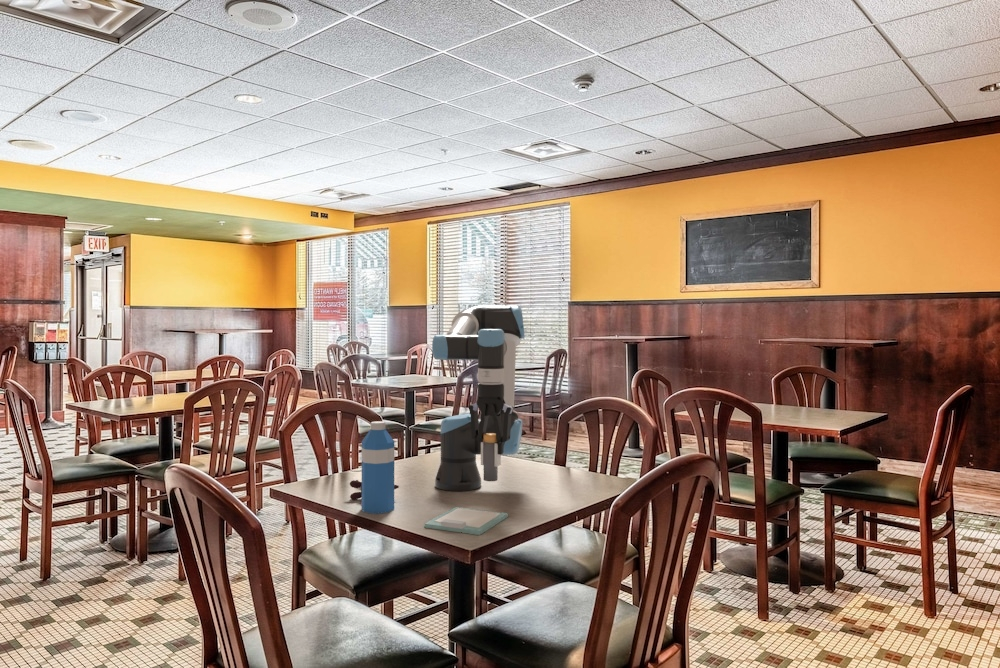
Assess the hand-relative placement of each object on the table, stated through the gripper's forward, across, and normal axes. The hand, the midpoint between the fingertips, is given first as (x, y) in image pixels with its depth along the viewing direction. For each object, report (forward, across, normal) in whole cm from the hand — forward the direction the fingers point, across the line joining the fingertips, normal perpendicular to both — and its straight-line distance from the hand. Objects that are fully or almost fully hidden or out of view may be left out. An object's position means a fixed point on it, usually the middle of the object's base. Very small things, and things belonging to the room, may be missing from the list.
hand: (490, 464), depth 194 cm
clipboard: (+13, -1, -14) cm, 19 cm away
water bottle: (+13, -30, -12) cm, 35 cm away
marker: (+4, 0, 0) cm, 4 cm away
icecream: (+13, -37, -3) cm, 40 cm away
